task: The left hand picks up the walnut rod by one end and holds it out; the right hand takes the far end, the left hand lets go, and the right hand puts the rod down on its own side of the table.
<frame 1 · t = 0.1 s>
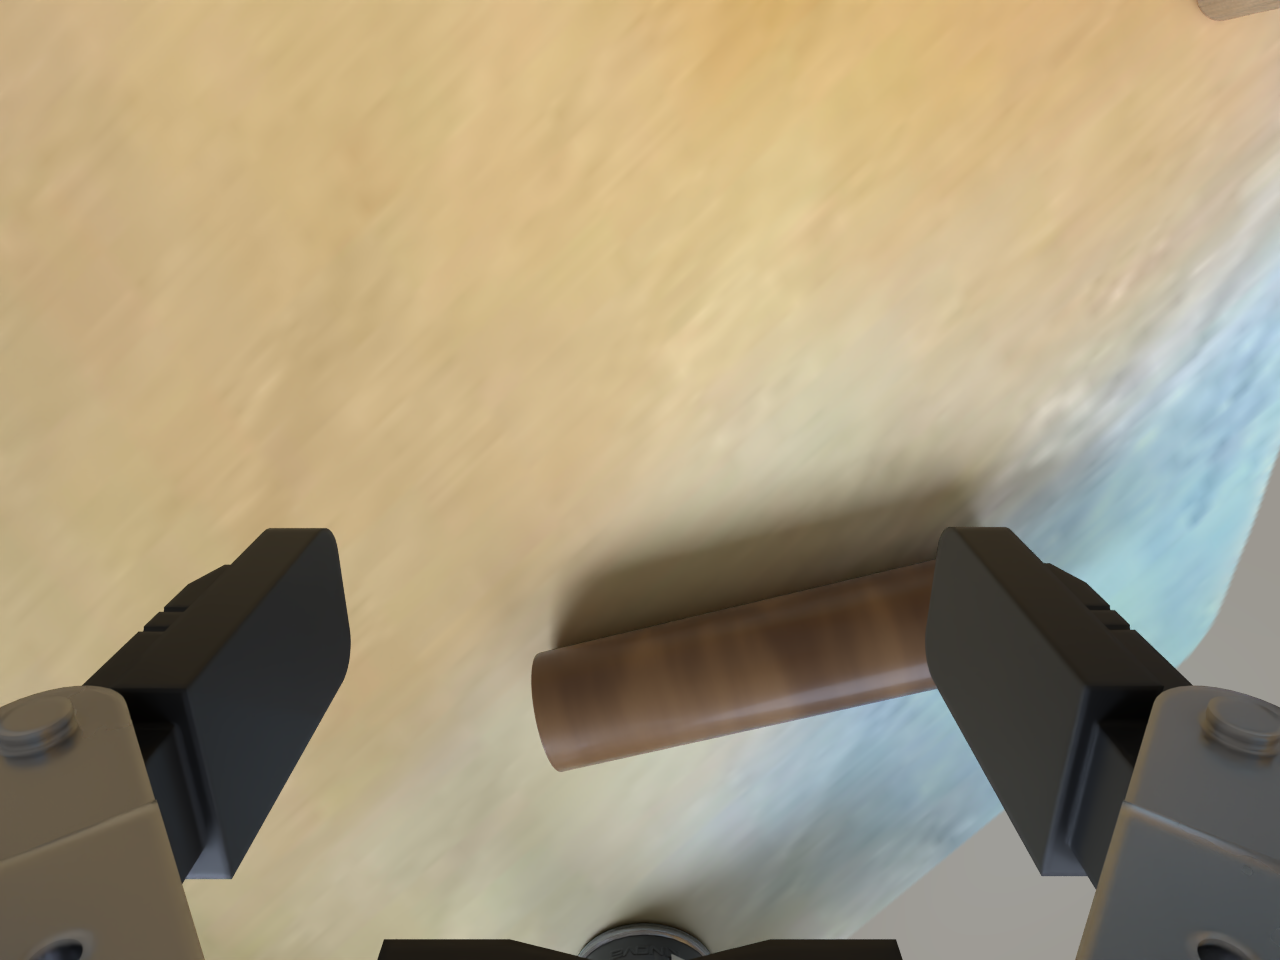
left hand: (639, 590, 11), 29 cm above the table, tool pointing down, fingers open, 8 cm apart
rod: (768, 627, 45), on the table
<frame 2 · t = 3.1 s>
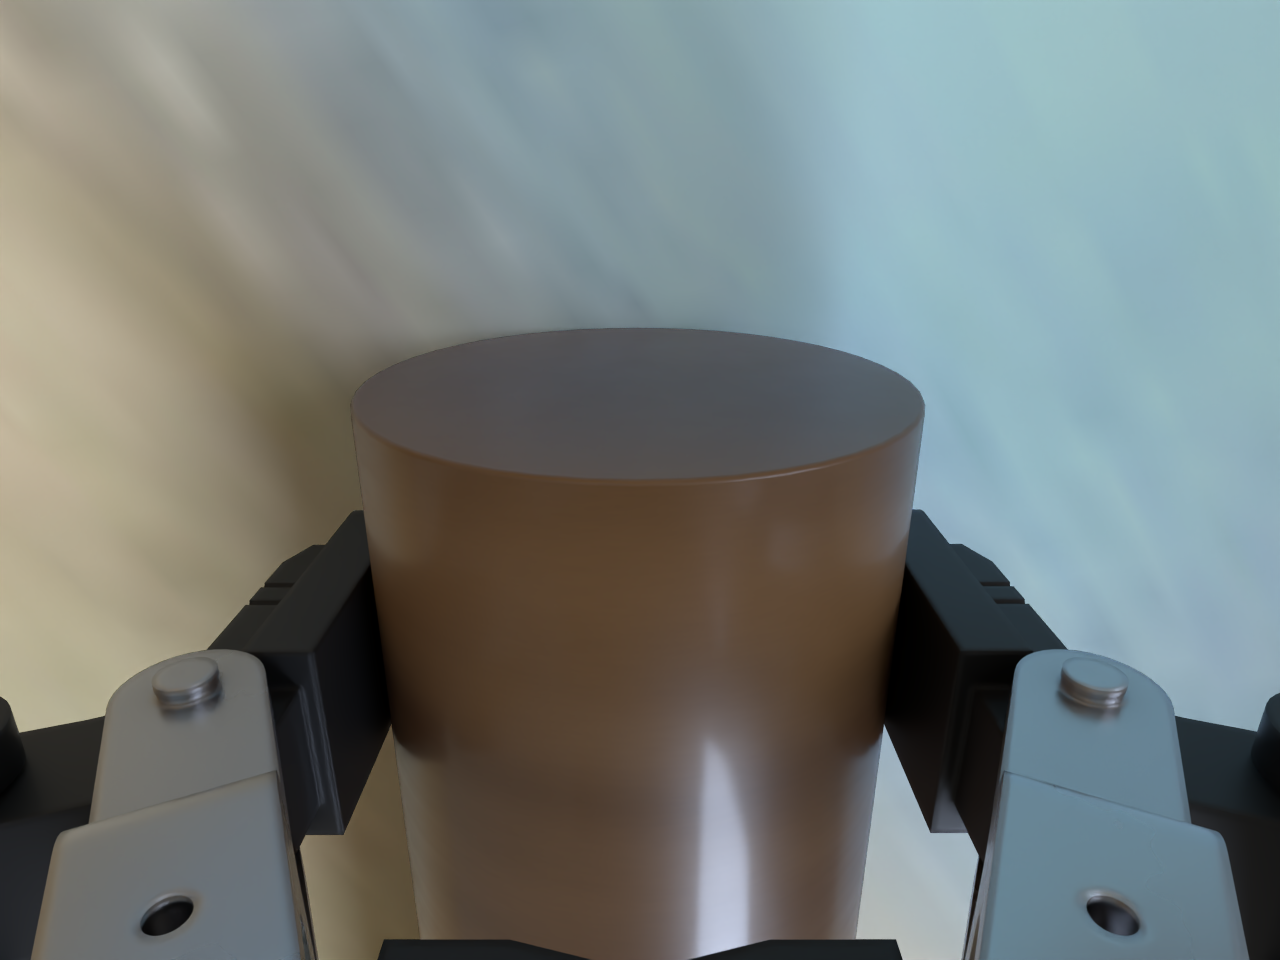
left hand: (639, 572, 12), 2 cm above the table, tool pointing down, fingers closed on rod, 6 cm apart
rod: (638, 932, 17), on the table, touching left hand
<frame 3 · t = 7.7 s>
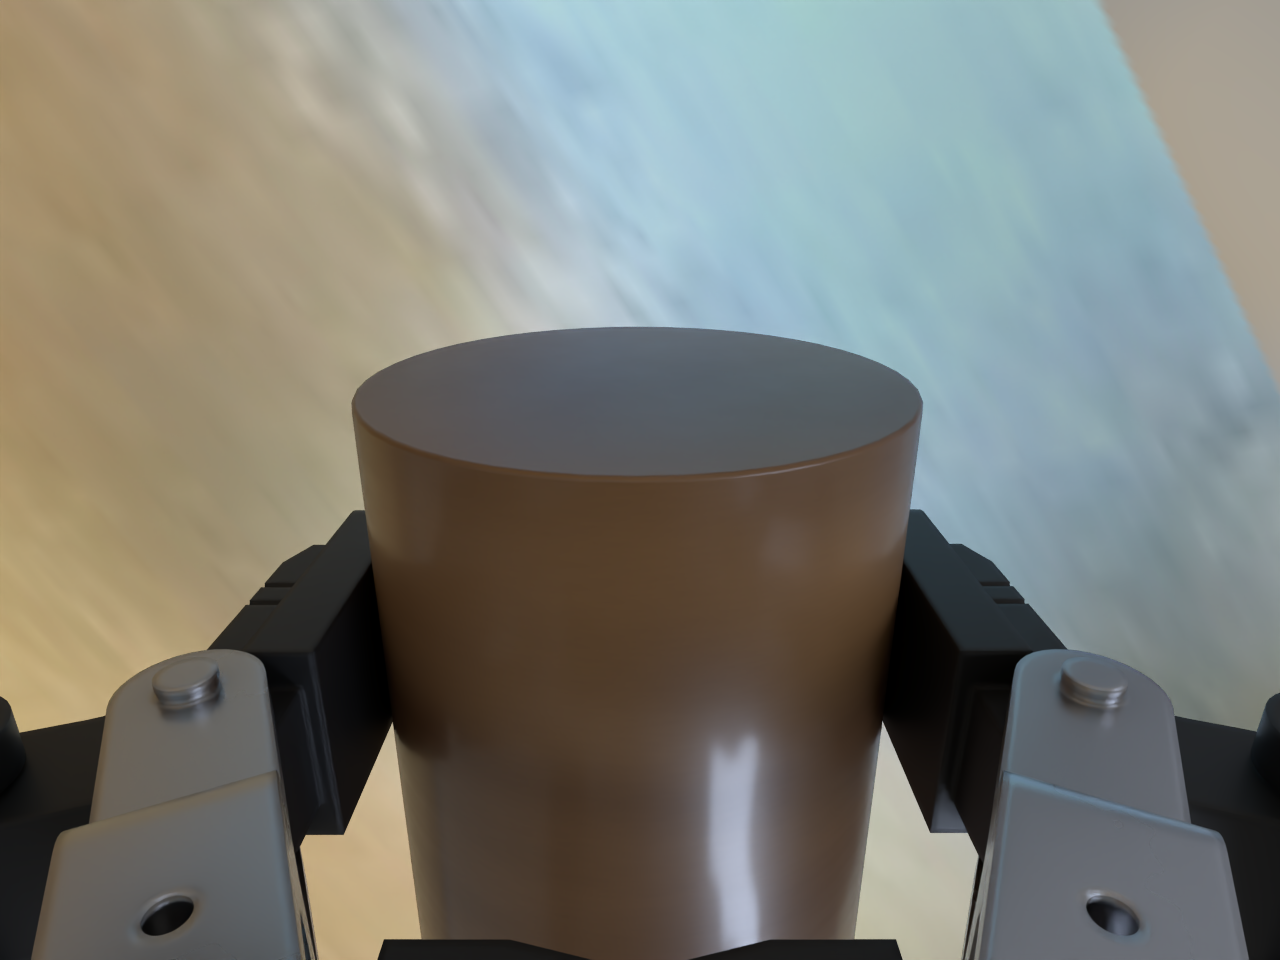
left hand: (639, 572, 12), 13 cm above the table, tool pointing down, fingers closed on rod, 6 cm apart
rod: (638, 930, 17), point 11 cm above the table, touching left hand, right hand
when the left hand's fingers open (13 cm above the table, at t = 8.8 s): rod stays where it is, held by the right hand.
when the right hand's fingers open (4 cm above the table, at t = 15.7 s): rod drops 1 cm, on the table.
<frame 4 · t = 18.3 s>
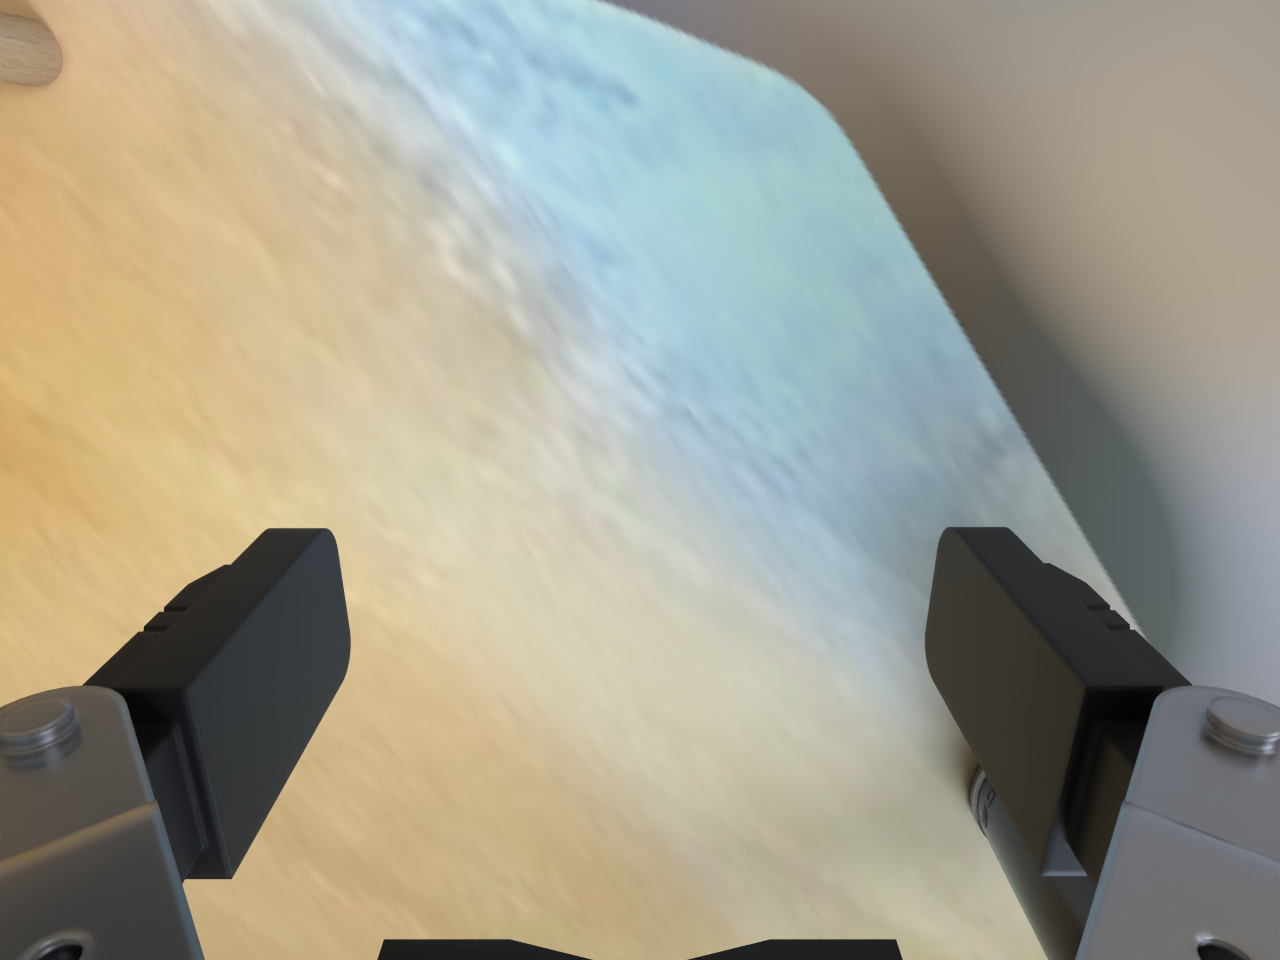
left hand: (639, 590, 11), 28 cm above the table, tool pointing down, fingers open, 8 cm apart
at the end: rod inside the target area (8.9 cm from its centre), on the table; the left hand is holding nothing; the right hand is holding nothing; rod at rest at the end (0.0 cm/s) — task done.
